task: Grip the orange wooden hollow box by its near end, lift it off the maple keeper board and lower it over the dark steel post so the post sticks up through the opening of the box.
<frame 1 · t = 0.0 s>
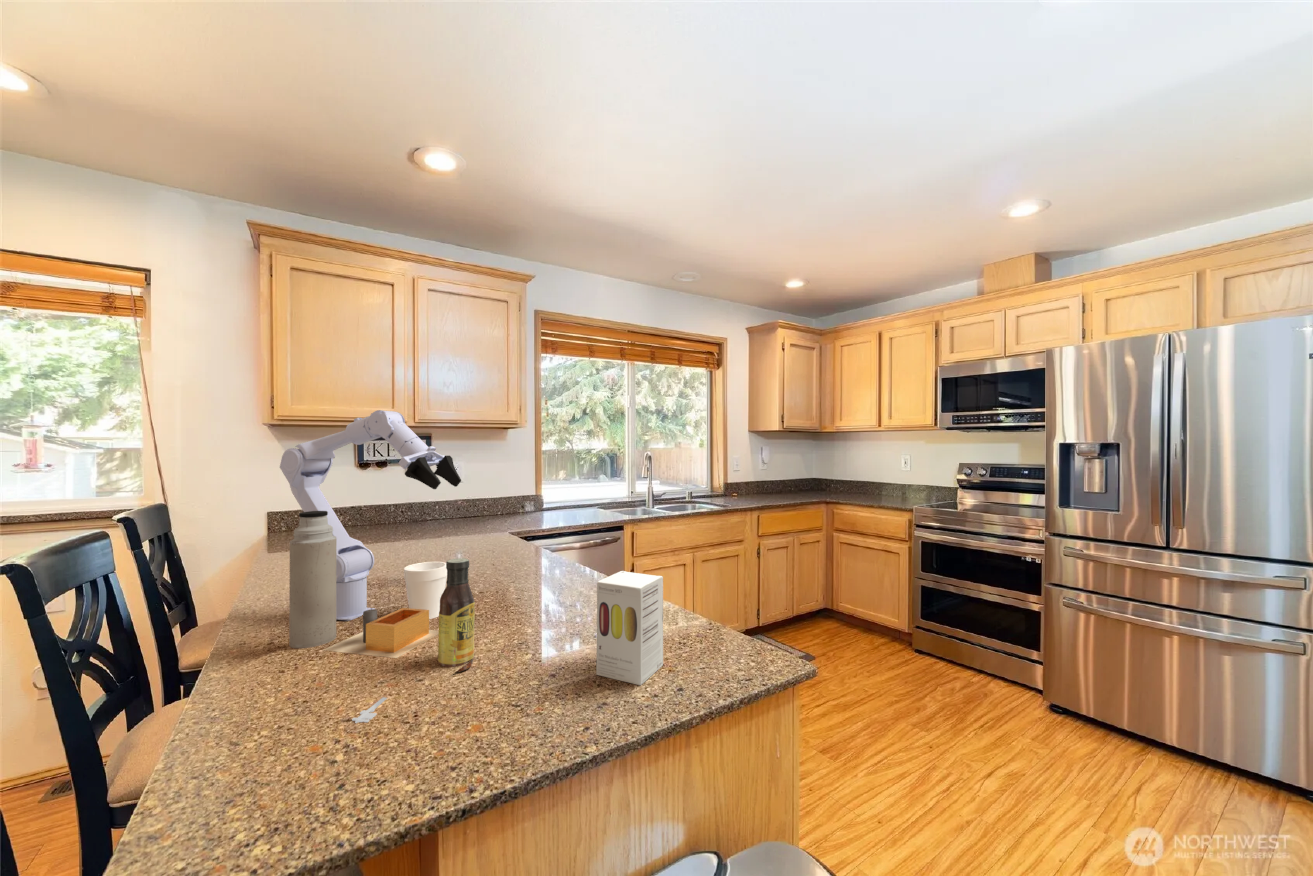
hand: (448, 484, 117), 32 cm above the counter, tool tilted 50°, fingers open, 7 cm apart
key: (381, 705, 81), on the counter
thermos bottle: (313, 648, 103), on the counter
foam cup: (426, 622, 118), on the counter
orange wooden hollow box: (398, 641, 102), point 1 cm above the counter, touching keeper board
sauce bottle: (456, 668, 93), on the counter
supplement box: (630, 671, 92), on the counter
keeper board: (386, 647, 103), on the counter
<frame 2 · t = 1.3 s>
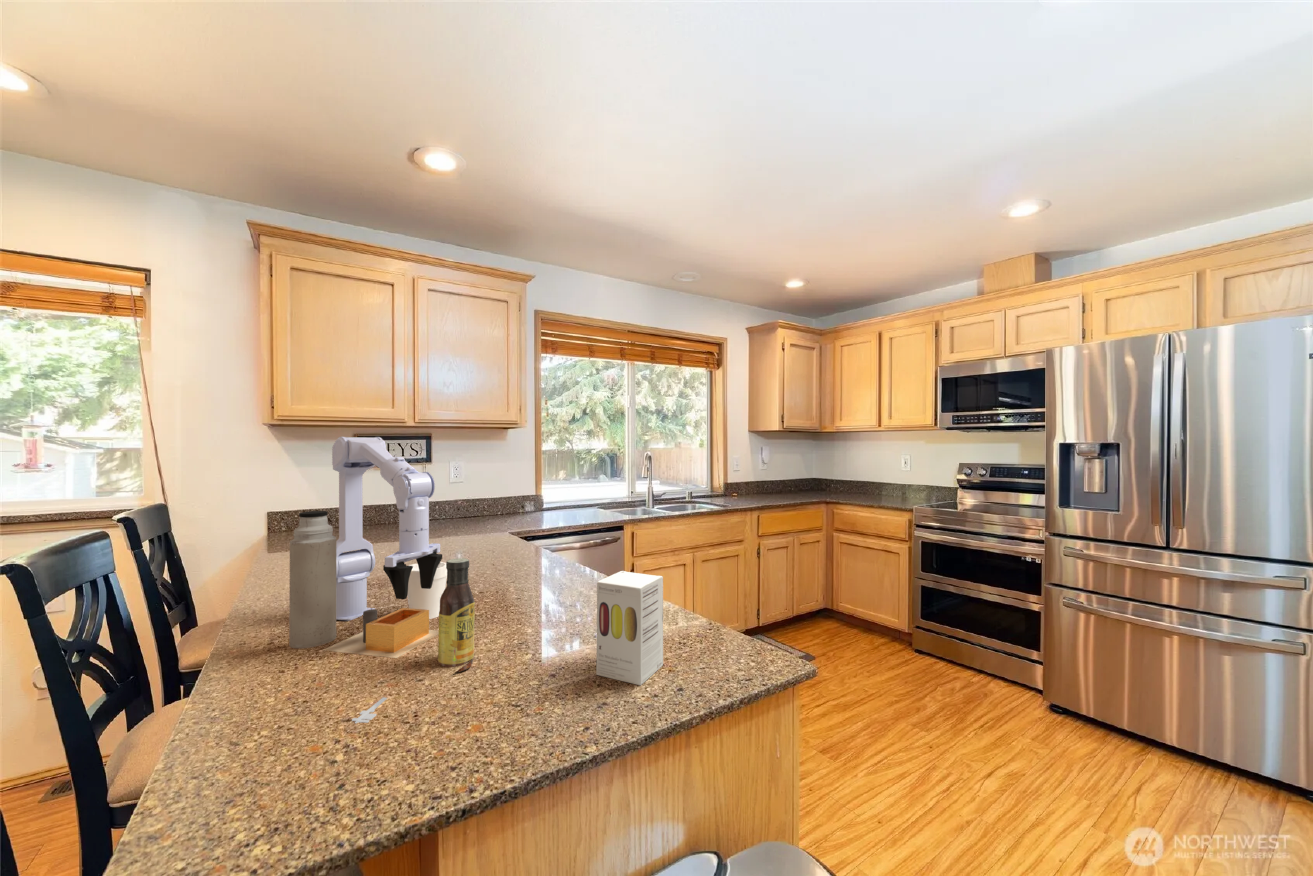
hand: (414, 593, 107), 10 cm above the counter, tool pointing down, fingers open, 7 cm apart
nothing on the counter moved.
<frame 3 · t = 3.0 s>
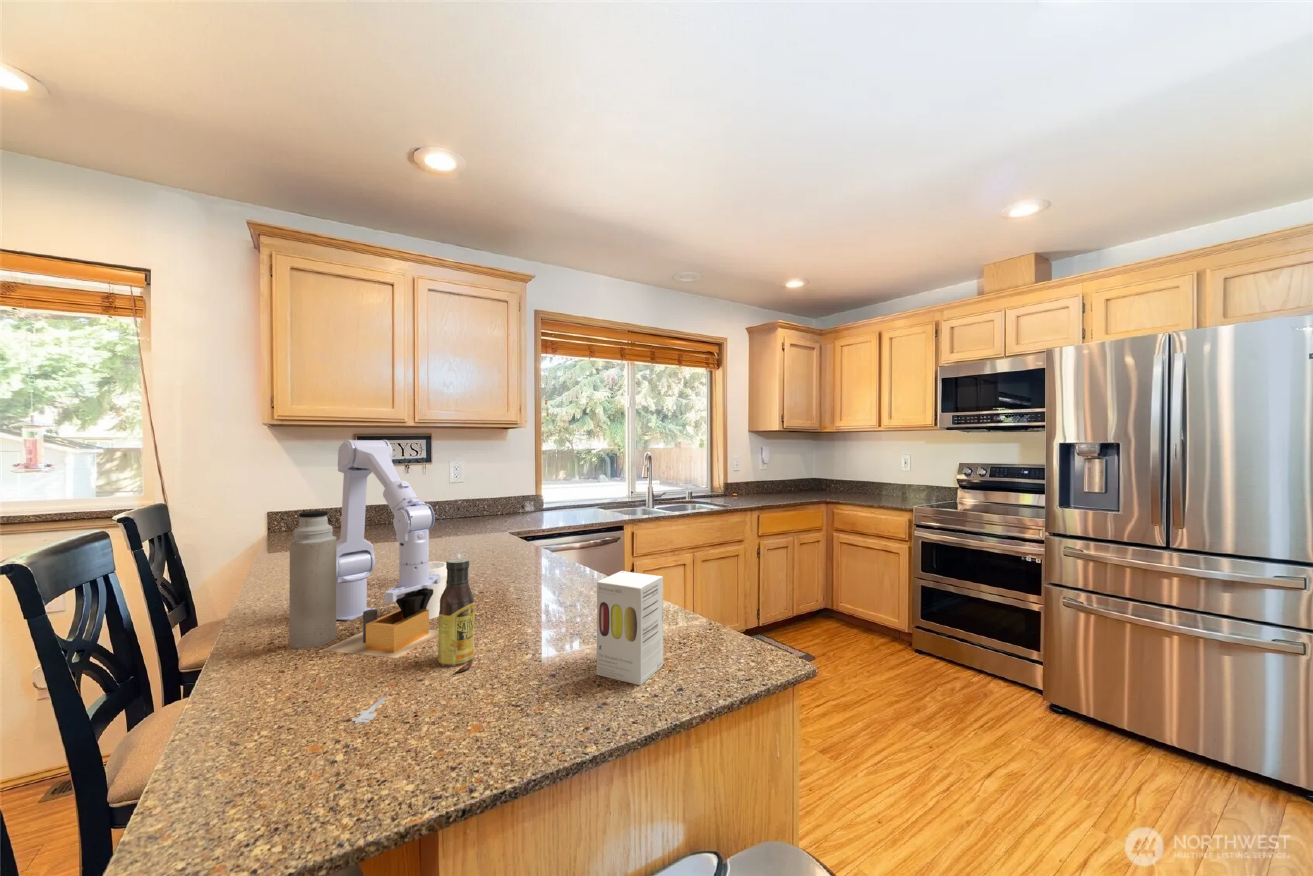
hand: (414, 626, 107), 3 cm above the counter, tool pointing down, fingers closed on orange wooden hollow box
orange wooden hollow box: (398, 641, 102), point 2 cm above the counter, touching gripper, keeper board
everything else where it was.
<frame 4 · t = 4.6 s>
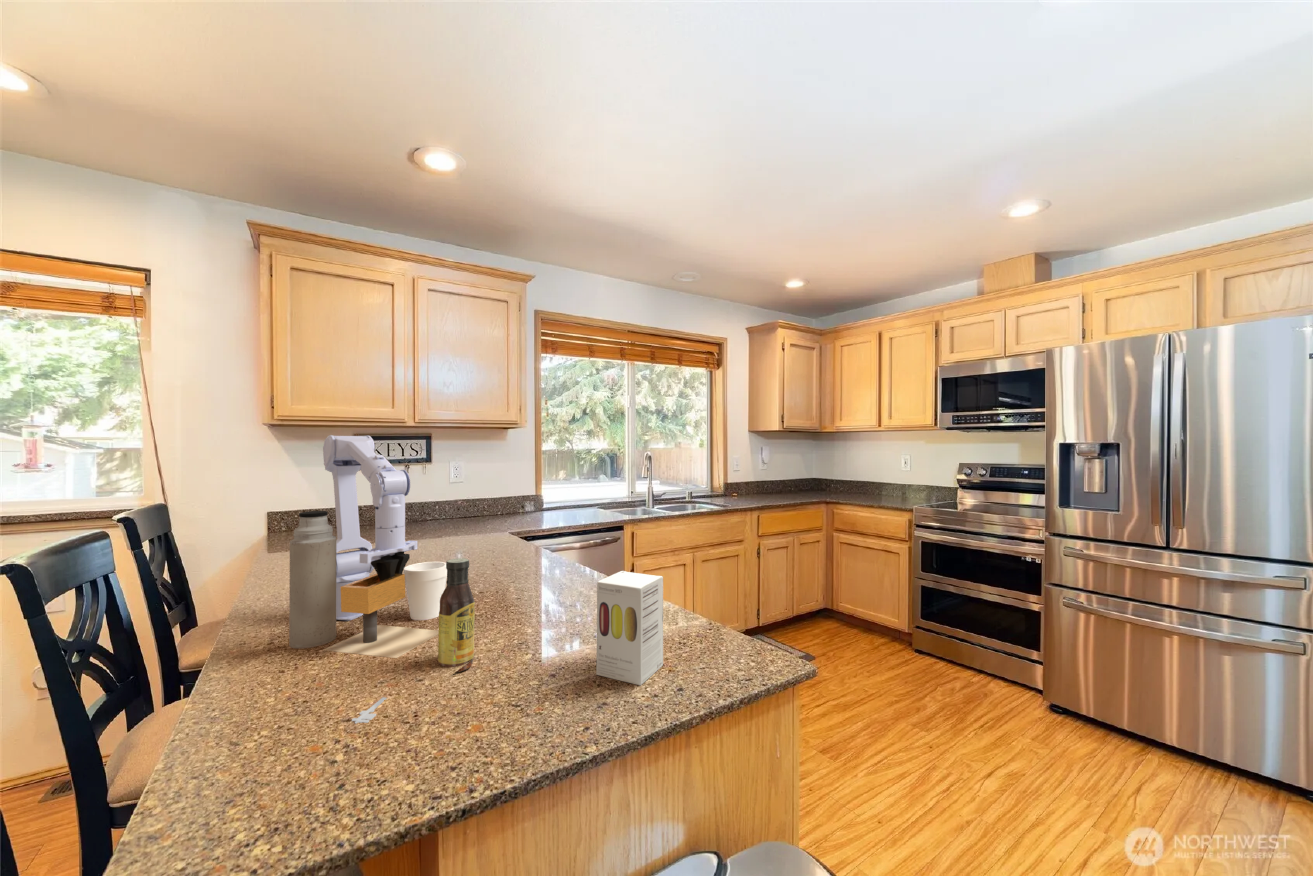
hand: (390, 589, 108), 10 cm above the counter, tool pointing down, fingers closed on orange wooden hollow box
orange wooden hollow box: (374, 604, 104), point 9 cm above the counter, touching gripper
everything else where it was.
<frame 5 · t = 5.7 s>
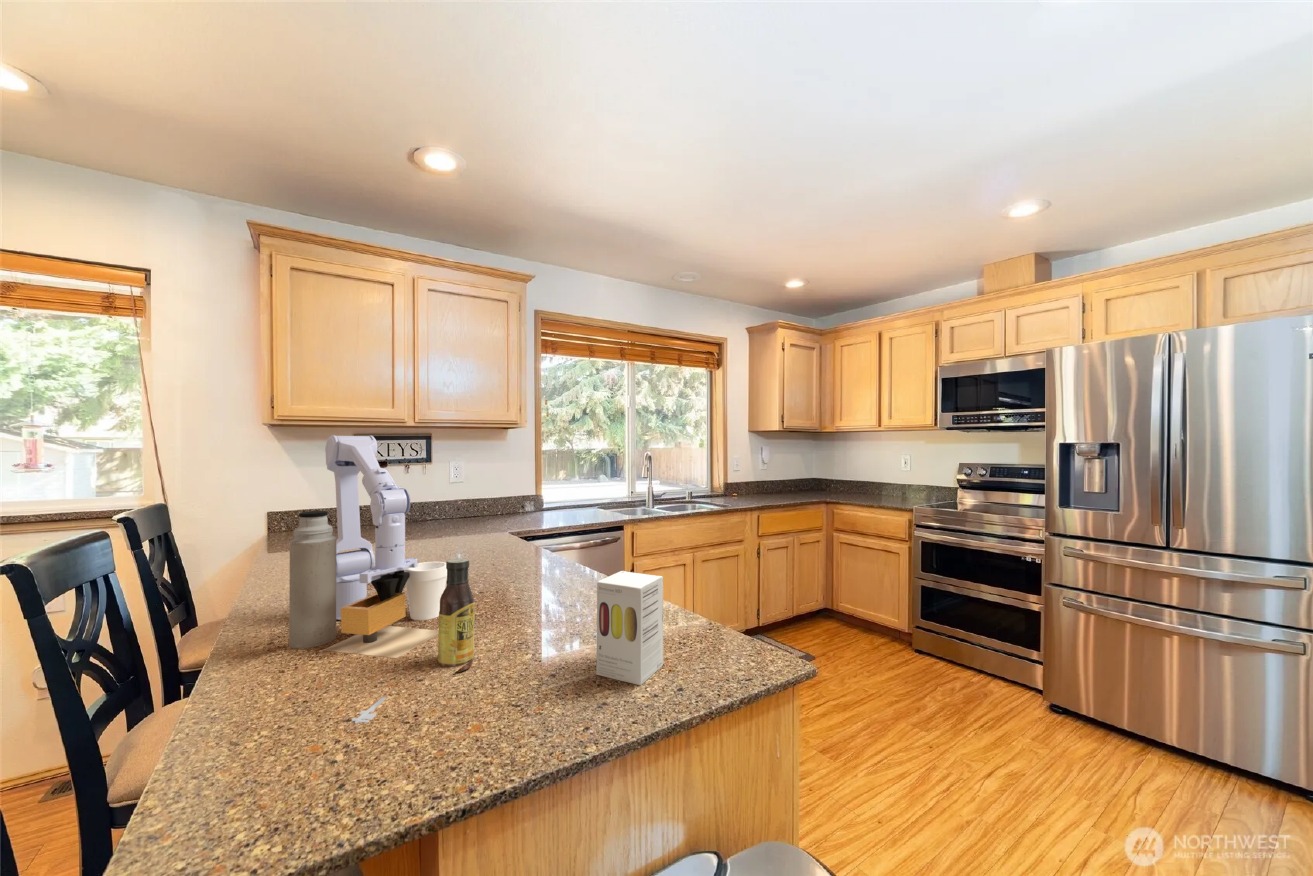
hand: (390, 608, 108), 6 cm above the counter, tool pointing down, fingers closed on orange wooden hollow box
orange wooden hollow box: (374, 624, 104), point 4 cm above the counter, touching gripper
everything else where it was.
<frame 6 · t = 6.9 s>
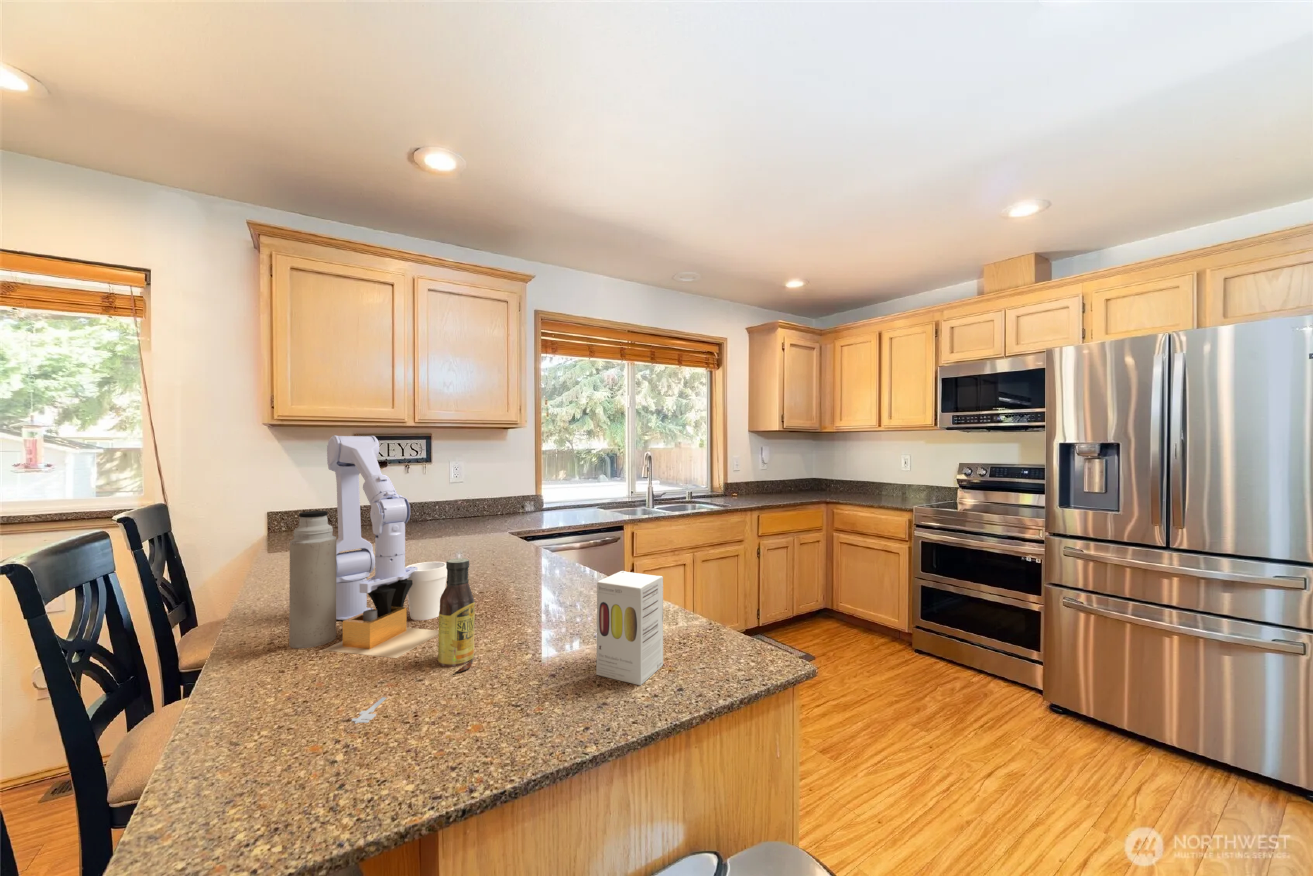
hand: (390, 617, 108), 4 cm above the counter, tool pointing down, fingers open, 3 cm apart
orange wooden hollow box: (375, 638, 104), point 1 cm above the counter, touching keeper board
everything else where it was.
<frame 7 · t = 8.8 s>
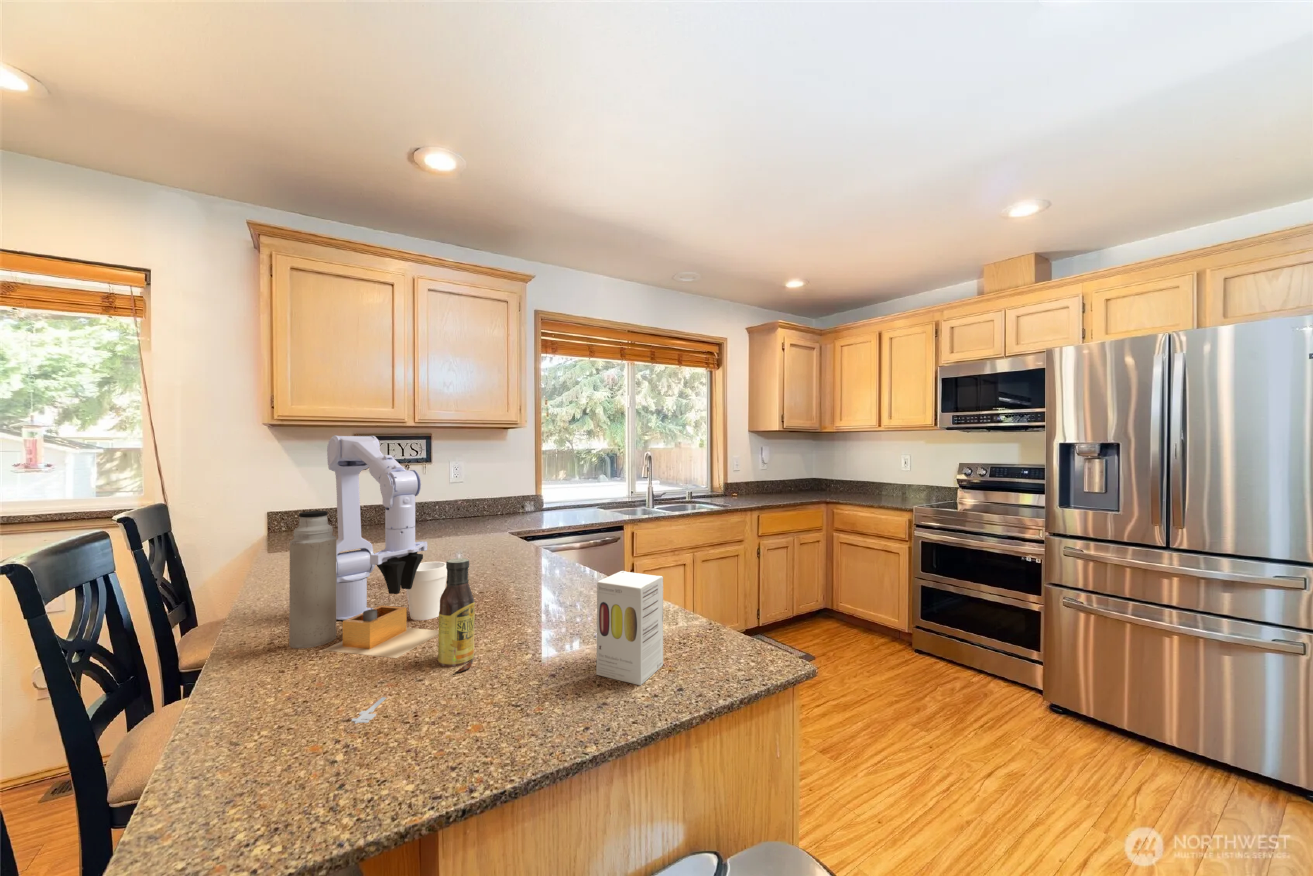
hand: (400, 591, 107), 10 cm above the counter, tool pointing down, fingers open, 3 cm apart
nothing on the counter moved.
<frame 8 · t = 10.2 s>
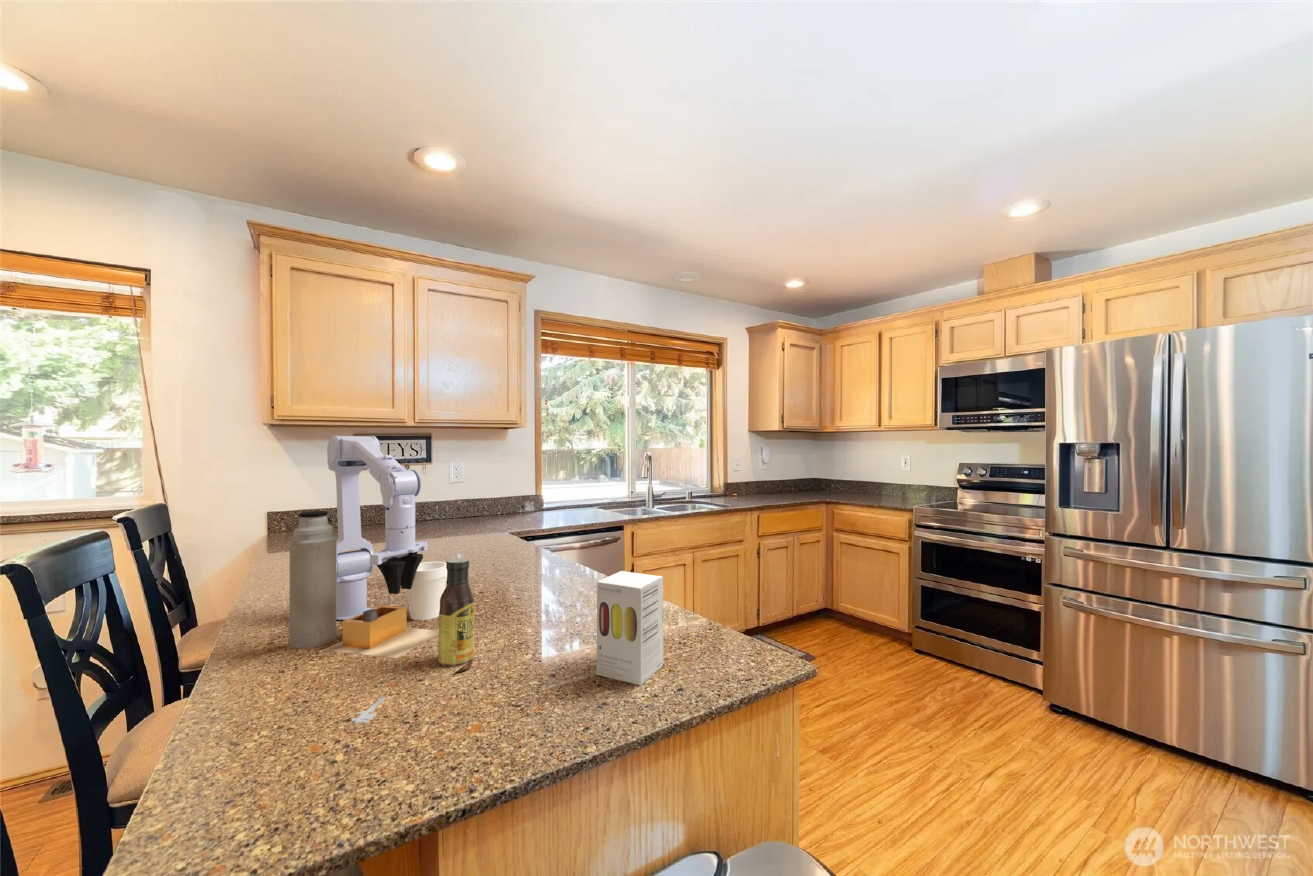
hand: (400, 591, 107), 10 cm above the counter, tool pointing down, fingers open, 3 cm apart
nothing on the counter moved.
at the end: orange wooden hollow box 1.4 cm from the target spot, point 1.5 cm above the counter; orange wooden hollow box tilted 0°; the gripper is holding nothing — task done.
